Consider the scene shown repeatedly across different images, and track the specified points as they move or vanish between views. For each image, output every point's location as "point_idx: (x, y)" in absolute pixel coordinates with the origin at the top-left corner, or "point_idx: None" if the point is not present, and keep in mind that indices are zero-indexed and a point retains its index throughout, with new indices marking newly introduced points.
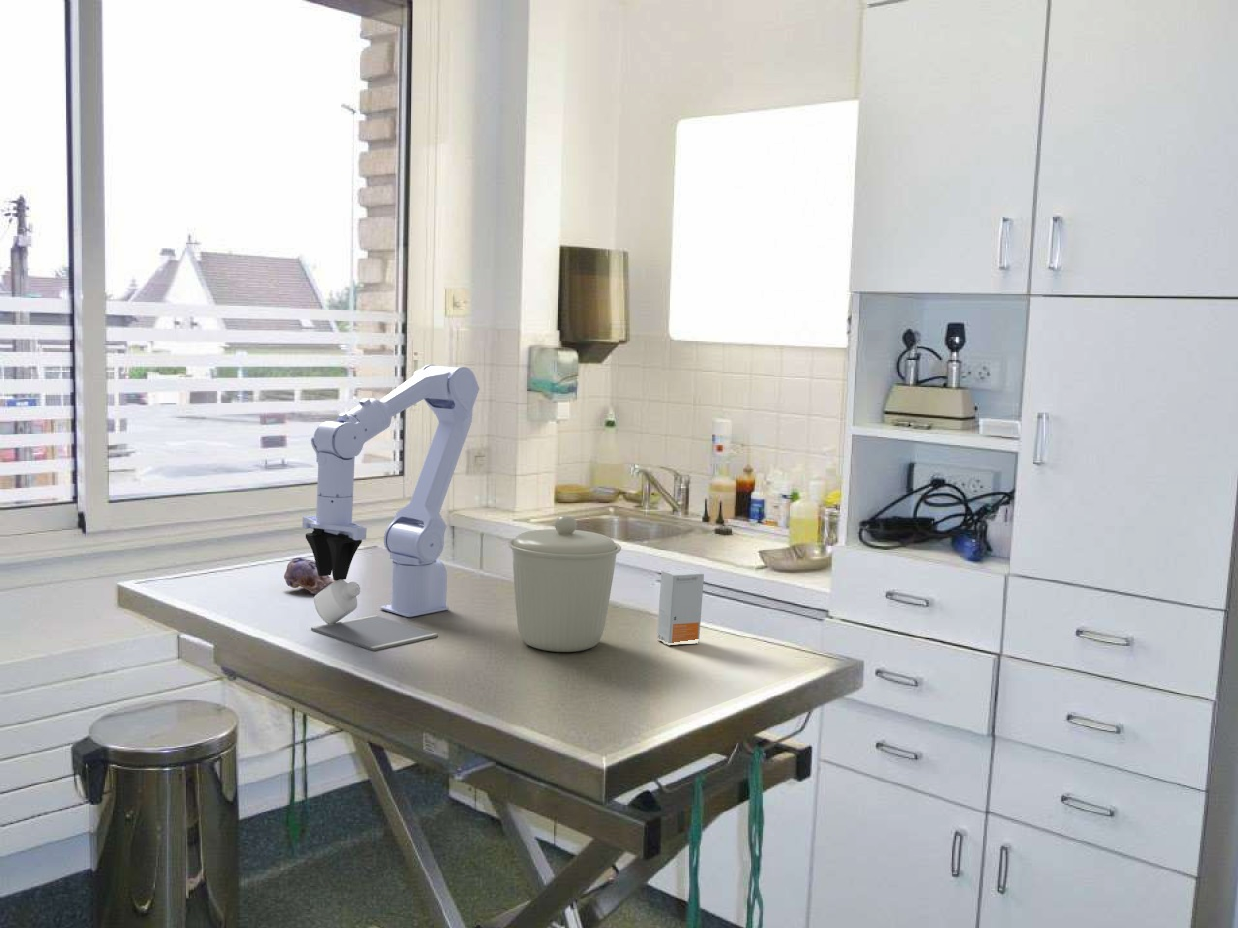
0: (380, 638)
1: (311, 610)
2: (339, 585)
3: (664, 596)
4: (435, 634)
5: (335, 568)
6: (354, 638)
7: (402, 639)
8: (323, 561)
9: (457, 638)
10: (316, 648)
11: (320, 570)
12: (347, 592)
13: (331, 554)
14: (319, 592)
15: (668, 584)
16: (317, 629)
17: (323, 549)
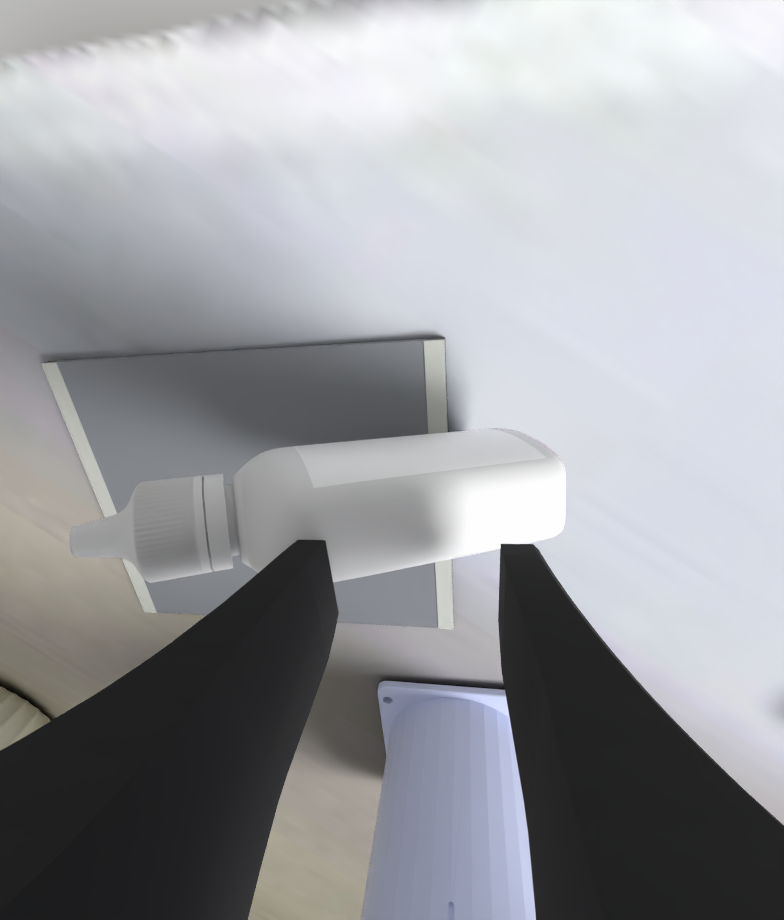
0: (160, 461)
1: (744, 531)
2: (255, 517)
3: None
4: (141, 604)
5: (231, 595)
6: (194, 388)
7: (123, 506)
8: (518, 672)
9: (115, 627)
10: (153, 179)
11: (504, 574)
12: (148, 483)
13: (171, 711)
14: (502, 478)
15: None
16: (399, 345)
17: (550, 836)
